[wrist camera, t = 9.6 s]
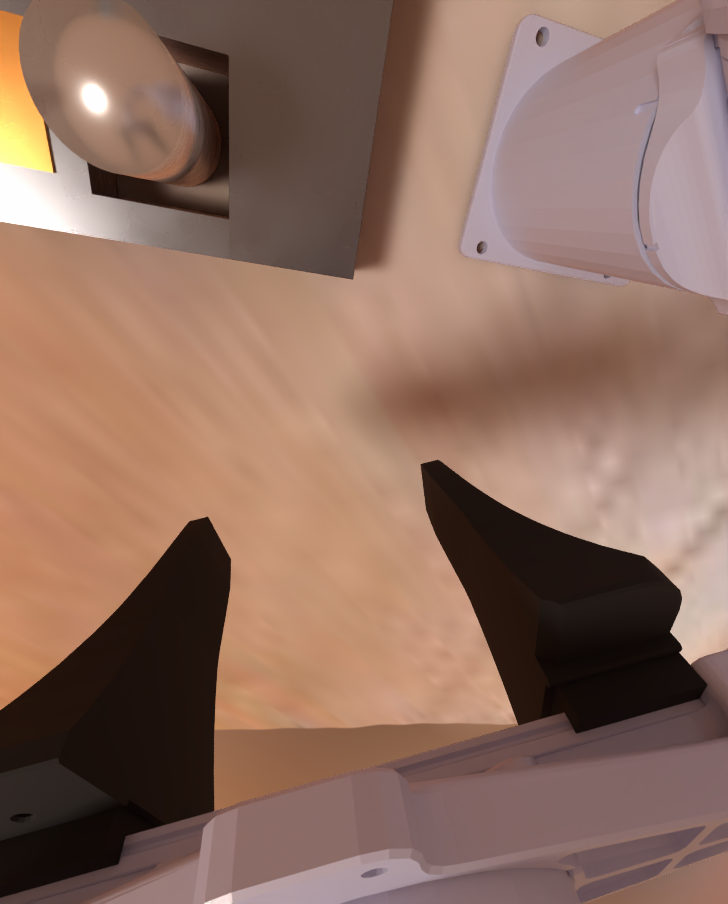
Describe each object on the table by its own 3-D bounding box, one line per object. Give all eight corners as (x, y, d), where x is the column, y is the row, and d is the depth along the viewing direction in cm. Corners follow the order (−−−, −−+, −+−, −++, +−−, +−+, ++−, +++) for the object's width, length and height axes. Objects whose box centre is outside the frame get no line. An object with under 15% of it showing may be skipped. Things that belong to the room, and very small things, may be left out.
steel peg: (216, 84, 14) (168, -3, 8) (225, 190, 16) (191, 181, 10) (118, 69, 13) (-7, -35, 8) (138, 181, 15) (47, 166, 9)
